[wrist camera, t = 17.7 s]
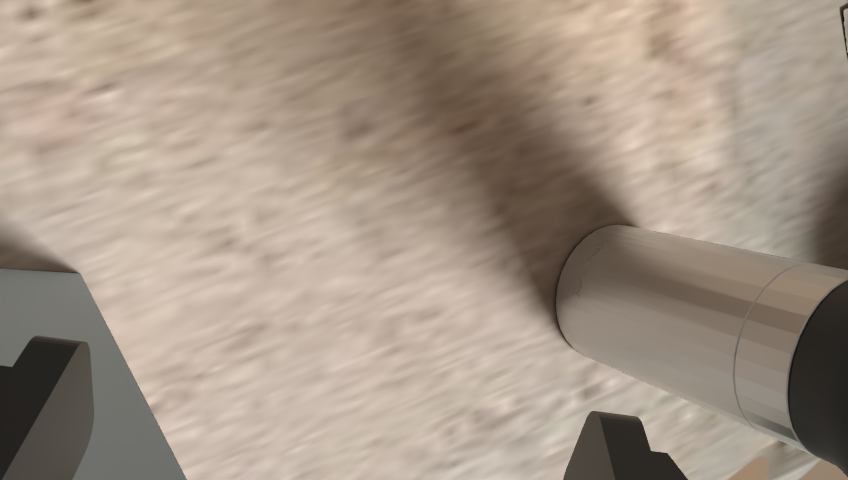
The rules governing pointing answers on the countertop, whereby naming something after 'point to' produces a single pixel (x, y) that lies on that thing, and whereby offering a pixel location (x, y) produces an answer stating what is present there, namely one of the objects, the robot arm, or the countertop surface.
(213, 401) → the countertop surface
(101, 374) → the wall board
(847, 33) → the condiment
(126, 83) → the countertop surface
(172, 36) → the countertop surface
